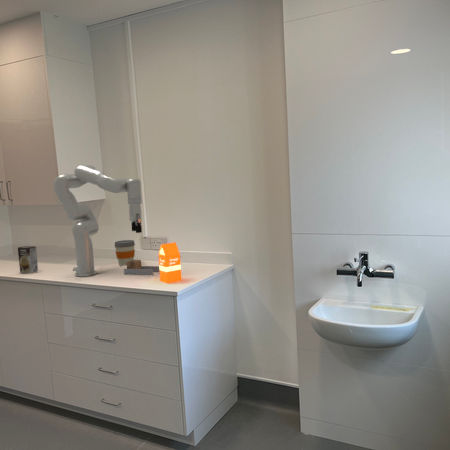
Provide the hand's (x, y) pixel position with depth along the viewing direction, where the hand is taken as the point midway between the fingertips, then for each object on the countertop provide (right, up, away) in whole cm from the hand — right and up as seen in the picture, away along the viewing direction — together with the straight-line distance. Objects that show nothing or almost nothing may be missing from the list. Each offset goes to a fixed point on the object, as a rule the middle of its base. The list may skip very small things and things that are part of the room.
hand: (136, 231), depth 261 cm
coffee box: (-72, -26, +29) cm, 82 cm away
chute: (+2, -24, +5) cm, 25 cm away
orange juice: (+21, -26, -14) cm, 36 cm away
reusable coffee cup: (-14, -22, +37) cm, 45 cm away
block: (-2, -24, +6) cm, 25 cm away
